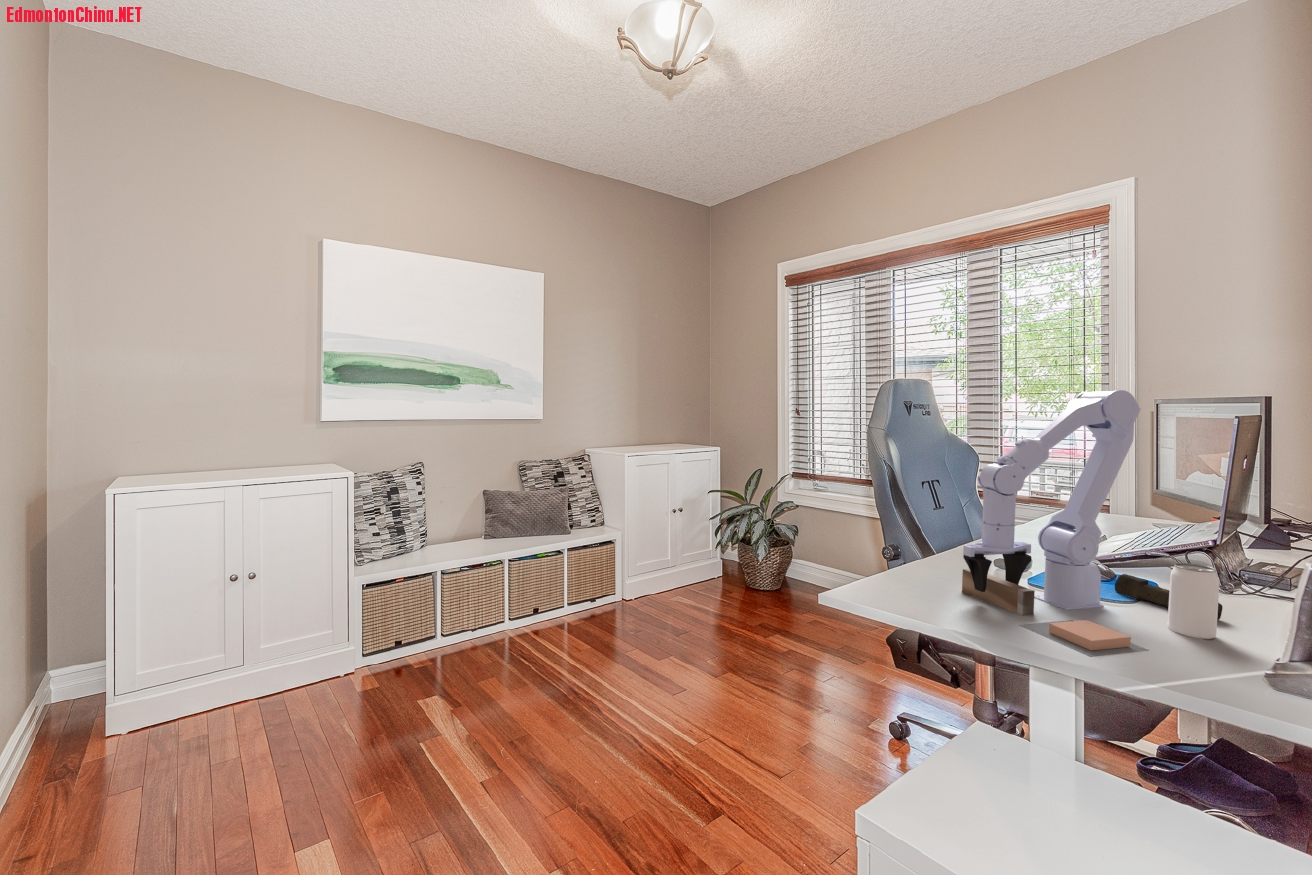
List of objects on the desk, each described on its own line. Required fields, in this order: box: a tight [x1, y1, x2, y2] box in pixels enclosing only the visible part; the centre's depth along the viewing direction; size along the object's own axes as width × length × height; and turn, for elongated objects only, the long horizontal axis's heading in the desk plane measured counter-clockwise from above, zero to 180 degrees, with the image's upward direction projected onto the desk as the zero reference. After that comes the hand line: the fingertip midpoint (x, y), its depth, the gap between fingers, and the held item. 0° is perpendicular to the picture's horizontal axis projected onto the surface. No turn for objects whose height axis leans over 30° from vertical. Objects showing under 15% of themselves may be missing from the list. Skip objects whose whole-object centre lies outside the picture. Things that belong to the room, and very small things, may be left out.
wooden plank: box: [961, 568, 1036, 617], centre depth 122 cm, size 3×16×5 cm, turn 13°
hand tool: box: [1114, 573, 1224, 622], centre depth 122 cm, size 19×4×5 cm, turn 13°
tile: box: [1049, 619, 1132, 651], centre depth 102 cm, size 8×2×8 cm
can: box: [1167, 562, 1220, 641], centre depth 106 cm, size 6×6×12 cm
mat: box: [1019, 619, 1149, 657], centre depth 104 cm, size 12×14×1 cm
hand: (995, 589), depth 122 cm, fingers open, 7 cm apart
